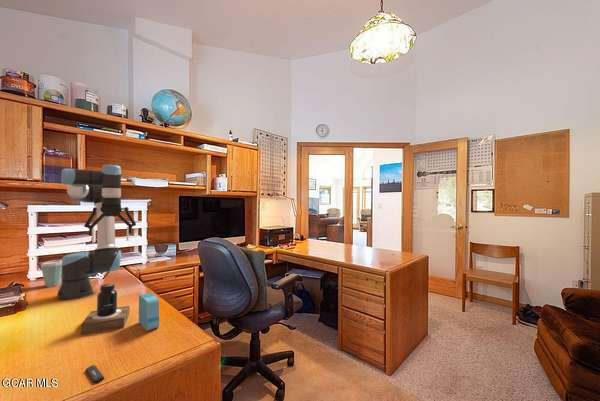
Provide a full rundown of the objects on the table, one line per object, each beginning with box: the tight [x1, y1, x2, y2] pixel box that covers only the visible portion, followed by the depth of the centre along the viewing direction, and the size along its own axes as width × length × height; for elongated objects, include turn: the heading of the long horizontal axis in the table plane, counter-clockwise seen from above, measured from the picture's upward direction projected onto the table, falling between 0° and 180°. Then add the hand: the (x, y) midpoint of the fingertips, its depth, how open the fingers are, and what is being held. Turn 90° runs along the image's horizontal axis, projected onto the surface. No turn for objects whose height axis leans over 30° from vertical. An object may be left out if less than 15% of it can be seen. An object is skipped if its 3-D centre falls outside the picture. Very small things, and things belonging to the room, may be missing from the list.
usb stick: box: [85, 364, 105, 384], centre depth 77 cm, size 10×3×2 cm, turn 51°
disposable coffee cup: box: [40, 259, 62, 288], centre depth 162 cm, size 11×11×15 cm
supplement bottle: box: [96, 283, 118, 317], centre depth 110 cm, size 7×7×12 cm
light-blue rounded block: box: [138, 292, 160, 332], centre depth 109 cm, size 12×4×12 cm, turn 45°
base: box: [80, 305, 130, 336], centre depth 110 cm, size 14×14×4 cm
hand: (111, 241), depth 126 cm, fingers open, 13 cm apart
